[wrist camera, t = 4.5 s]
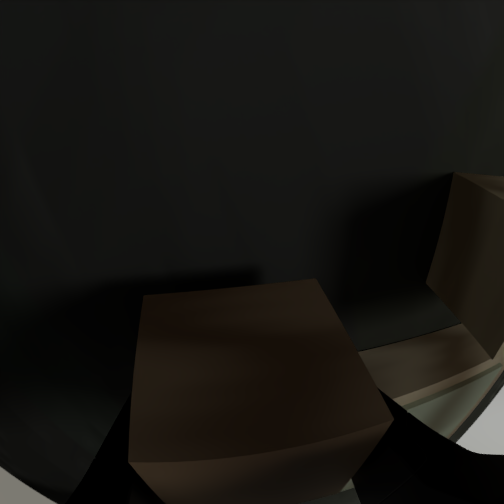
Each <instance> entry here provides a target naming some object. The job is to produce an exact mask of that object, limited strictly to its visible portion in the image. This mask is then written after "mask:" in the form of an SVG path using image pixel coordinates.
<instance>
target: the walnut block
mask: <svg viewBox="0 0 504 504" xmlns="http://www.w3.org/2000/svg"><path fill="white" fill-rule="evenodd" d="M393 420H394V418H393V416H392V414H391V412H390V411H389V409H388V407H387V405H386V403H385V401H384V399H383V397H382V395H381V394H380V392H379V390H378V388H377V386H376V384H375V382H374V380H373V379H372V377H371V375H370V373H369V371H368V369H367V368H366V366H365V364H364V362H363V360H362V359H361V357H360V355H359V353H358V351H357V349H356V348H355V346H354V344H353V342H352V341H351V339H350V337H349V335H348V333H347V332H346V330H345V328H344V326H343V325H342V323H341V321H340V319H339V318H338V316H337V314H336V312H335V311H334V309H333V307H332V305H331V304H330V302H329V300H328V298H327V297H326V295H325V293H324V292H323V290H322V288H321V286H320V285H319V283H318V281H317V280H316V278H315V279H306V280H298V281H289V282H280V283H271V284H262V285H252V286H242V287H232V288H222V289H211V290H201V291H190V292H178V293H166V294H154V295H144V296H143V303H142V309H141V316H140V324H139V331H138V339H137V347H136V356H135V365H134V375H133V386H132V398H131V412H130V429H129V453H128V463H129V464H130V465H131V466H132V467H133V469H134V470H135V471H136V472H137V473H138V474H139V476H140V477H141V478H142V479H143V480H144V481H145V482H146V484H147V485H148V486H149V487H150V488H151V489H152V490H153V491H154V492H155V493H156V494H157V495H158V497H159V498H160V499H161V500H162V501H163V502H164V503H165V504H298V503H302V502H306V501H311V500H315V499H318V498H322V497H326V496H330V495H333V494H336V493H340V491H341V490H342V489H343V488H344V487H345V486H346V484H347V483H348V482H349V481H350V479H351V478H352V477H353V476H354V474H355V473H356V472H357V471H358V469H359V468H360V467H361V466H362V464H363V463H364V462H365V460H366V459H367V458H368V456H369V455H370V454H371V452H372V451H373V449H374V448H375V447H376V445H377V444H378V442H379V441H380V440H381V438H382V437H383V435H384V434H385V432H386V431H387V429H388V428H389V426H390V425H391V423H392V422H393Z"/></svg>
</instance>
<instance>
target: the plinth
mask: <svg viewBox="0 0 504 504" xmlns="http://www.w3.org/2000/svg"><path fill="white" fill-rule="evenodd" d="M358 353H359V355H360V357H361V359H362V360H363V362H364V364H365V366H366V368H367V369H368V371H369V373H370V375H371V377H372V379H373V380H374V382H375V384H376V386H377V387H378V388H379V389H380V390H381V391H383V392H384V393H385V394H386V395H388V396H389V397H390V398H391V399H393V400H394V401H395V402H397V403H398V404H399V405H400V406H402V407H403V408H404V409H405V410H407V413H408V412H409V413H411V414H412V415H413V416H415V417H416V418H417V419H419V420H420V421H421V422H423V423H424V424H425V425H427V426H428V427H430V428H431V429H433V430H434V431H436V432H438V433H439V434H441V435H443V436H444V437H446V438H448V439H449V438H450V436H451V435H452V434H453V433H454V432H455V431H456V430H457V429H458V428H459V427H460V425H461V424H462V423H463V422H464V421H465V420H466V418H467V417H468V416H469V415H470V414H471V413H472V411H473V410H474V409H475V408H476V406H477V405H478V404H479V403H480V401H481V400H482V399H483V398H484V396H485V395H486V394H487V392H488V391H489V390H490V388H491V387H492V386H493V384H494V383H495V381H496V380H497V379H498V377H499V376H500V374H501V373H502V372H503V370H504V354H503V355H501V356H499V357H498V358H496V359H494V360H492V359H491V358H490V356H489V355H488V354H487V353H486V351H485V350H484V349H483V348H482V346H481V345H480V344H479V343H478V342H477V340H476V339H475V338H474V337H473V336H472V334H471V333H470V332H469V331H468V330H467V328H466V327H465V326H464V325H463V324H462V323H461V324H458V325H455V326H452V327H449V328H446V329H443V330H439V331H436V332H433V333H429V334H426V335H423V336H419V337H415V338H412V339H408V340H405V341H401V342H397V343H393V344H389V345H385V346H381V347H377V348H373V349H369V350H365V351H360V352H358ZM351 488H354V485H353V482H352V479H350V481H349V482H348V483H347V484H346V486H345V487H344V488H343V489H342V490H341V491H344V490H348V489H351ZM341 491H340V492H341Z"/></svg>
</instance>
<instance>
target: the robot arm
mask: <svg viewBox="0 0 504 504" xmlns="http://www.w3.org/2000/svg"><path fill="white" fill-rule="evenodd" d="M377 388H378V387H377ZM378 390H379V392H380V394H381V395H382V397H383V399H384V401H385V403H386V405H387V407H388V409H389V411H390V412H391V414H392V416H393V418H394V420H393V422H392V423H391V425H390V426H389V428H388V429H387V431H386V432H385V434H384V435H383V437H382V438H381V440H380V441H379V442H378V444H377V445H376V447H375V448H374V449H373V451H372V452H371V454H370V455H369V456H368V458H367V459H366V460H365V462H364V463H363V464H362V466H361V467H360V468H359V469H358V471H357V472H356V473H355V474H354V476H353V477H352V478H351V479H352V482H353V485H354V487H355V490H356V492H357V495H358V497H359V500H360V502H361V504H504V455H490V454H479V453H475V452H471V451H469V450H466V449H465V448H463V447H461V446H460V445H458V444H456V443H454V442H453V441H451V440H449V439H448V438H446V437H444V436H443V435H441V434H439V433H438V432H436V431H434V430H433V429H431V428H430V427H428V426H427V425H425V424H424V423H423V422H421V421H420V420H419V419H417V418H416V417H415V416H413V415H412V414H411V413H409V412H408V413H407V410H405V409H404V408H403V407H402V406H400V405H399V404H398V403H397V402H395V401H394V400H393V399H391V398H390V397H389V396H388V395H386V394H385V393H384V392H383V391H381V390H380V389H379V388H378ZM131 398H132V392H131V394H130V396H129V397H128V399H127V401H126V403H125V404H124V406H123V408H122V410H121V411H120V413H119V415H118V417H117V419H116V420H115V422H114V424H113V426H112V427H111V429H110V431H109V433H108V435H107V436H106V438H105V440H104V442H103V444H102V445H101V447H100V449H99V451H98V453H97V454H96V456H95V458H96V459H94V460H93V462H92V463H91V465H90V467H89V469H88V471H87V472H86V474H85V476H84V477H83V479H82V481H81V482H80V484H79V485H78V487H77V488H76V490H75V491H74V492H73V494H72V495H71V497H70V498H69V499H68V501H67V502H66V503H65V504H165V503H164V502H163V501H162V500H161V499H160V498H159V497H158V495H157V494H156V493H155V492H154V491H153V490H152V489H151V488H150V487H149V486H148V485H147V484H146V482H145V481H144V480H143V479H142V478H141V477H140V476H139V474H138V473H137V472H136V471H135V470H134V469H133V467H132V466H131V465H130V464H129V463H128V453H129V429H130V412H131Z"/></svg>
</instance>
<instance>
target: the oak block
mask: <svg viewBox="0 0 504 504" xmlns="http://www.w3.org/2000/svg"><path fill="white" fill-rule="evenodd" d="M426 284H427V285H428V286H429V287H430V288H431V289H432V290H433V291H434V292H435V293H436V295H437V296H438V297H439V298H440V299H441V300H442V301H443V302H444V303H445V304H446V306H447V307H448V308H449V309H450V310H451V311H452V312H453V313H454V315H455V316H456V317H457V318H458V319H459V320H460V321H461V323H462V324H463V325H464V326H465V327H466V328H467V330H468V331H469V332H470V333H471V334H472V336H473V337H474V338H475V339H476V340H477V342H478V343H479V344H480V345H481V346H482V348H483V349H484V350H485V351H486V353H487V354H488V355H489V356H490V358H491V359H492V360H494V359H496V358H498V357H499V356H501V355H503V354H504V177H500V176H491V175H481V174H470V173H458V172H454V173H453V178H452V183H451V188H450V193H449V198H448V203H447V207H446V211H445V216H444V220H443V224H442V228H441V232H440V235H439V239H438V243H437V247H436V250H435V254H434V257H433V260H432V264H431V267H430V270H429V273H428V277H427V280H426Z"/></svg>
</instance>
